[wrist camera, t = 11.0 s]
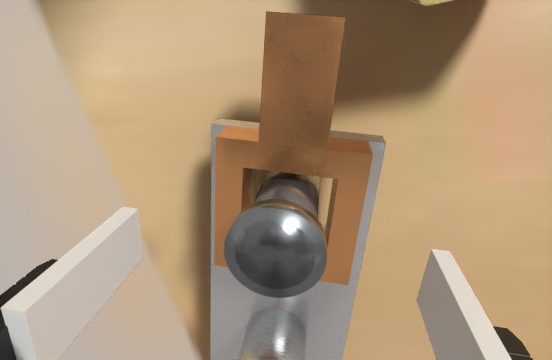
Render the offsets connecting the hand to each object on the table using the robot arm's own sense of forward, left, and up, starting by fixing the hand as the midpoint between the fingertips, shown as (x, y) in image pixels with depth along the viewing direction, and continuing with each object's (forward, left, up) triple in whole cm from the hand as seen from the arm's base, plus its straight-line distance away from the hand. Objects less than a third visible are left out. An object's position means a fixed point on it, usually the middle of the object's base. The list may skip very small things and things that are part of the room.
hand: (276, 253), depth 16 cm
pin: (0, 0, -14) cm, 14 cm away
